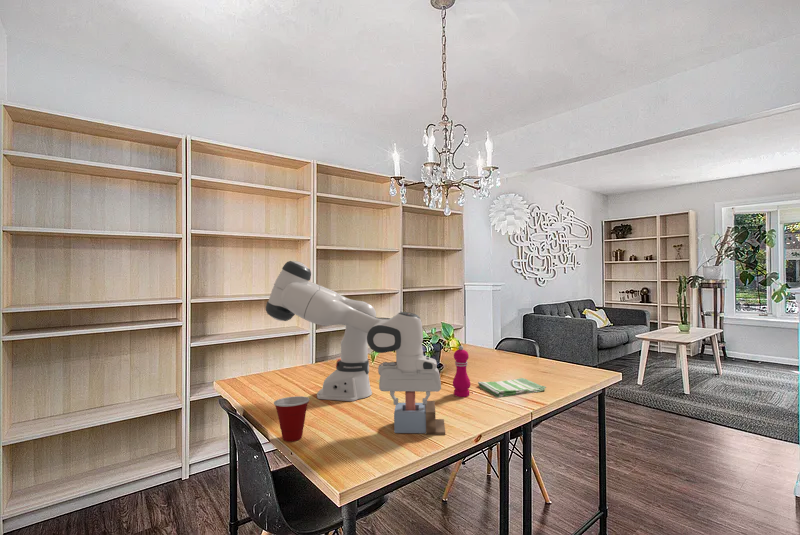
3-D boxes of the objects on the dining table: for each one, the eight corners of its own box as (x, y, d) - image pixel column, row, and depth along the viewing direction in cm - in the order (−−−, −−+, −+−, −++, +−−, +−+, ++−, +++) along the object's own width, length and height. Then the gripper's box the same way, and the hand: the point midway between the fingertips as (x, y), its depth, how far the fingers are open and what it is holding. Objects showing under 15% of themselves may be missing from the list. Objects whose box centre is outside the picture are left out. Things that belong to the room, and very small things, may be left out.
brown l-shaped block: (426, 434, 130) (425, 412, 130) (426, 421, 141) (425, 400, 141) (445, 434, 130) (445, 412, 130) (443, 421, 141) (443, 400, 141)
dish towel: (547, 392, 173) (547, 385, 173) (499, 399, 165) (498, 392, 165) (521, 381, 190) (521, 375, 190) (476, 387, 182) (476, 380, 182)
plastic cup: (306, 428, 136) (306, 392, 136) (313, 441, 126) (312, 401, 126) (272, 434, 132) (271, 396, 132) (276, 447, 122) (275, 407, 122)
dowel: (405, 424, 134) (405, 393, 134) (405, 420, 138) (405, 390, 138) (415, 424, 134) (415, 393, 134) (415, 420, 137) (415, 390, 137)
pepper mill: (470, 397, 165) (469, 347, 165) (452, 397, 167) (451, 347, 167) (471, 392, 172) (470, 344, 172) (453, 391, 174) (452, 343, 174)
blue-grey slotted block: (394, 432, 131) (394, 413, 131) (396, 421, 141) (396, 402, 141) (426, 433, 131) (425, 413, 131) (426, 421, 141) (425, 402, 141)
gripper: (377, 364, 133) (377, 407, 133) (441, 364, 132) (441, 407, 132) (379, 359, 140) (379, 401, 140) (440, 359, 138) (440, 401, 139)
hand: (410, 404), depth 136 cm, fingers open, 8 cm apart
